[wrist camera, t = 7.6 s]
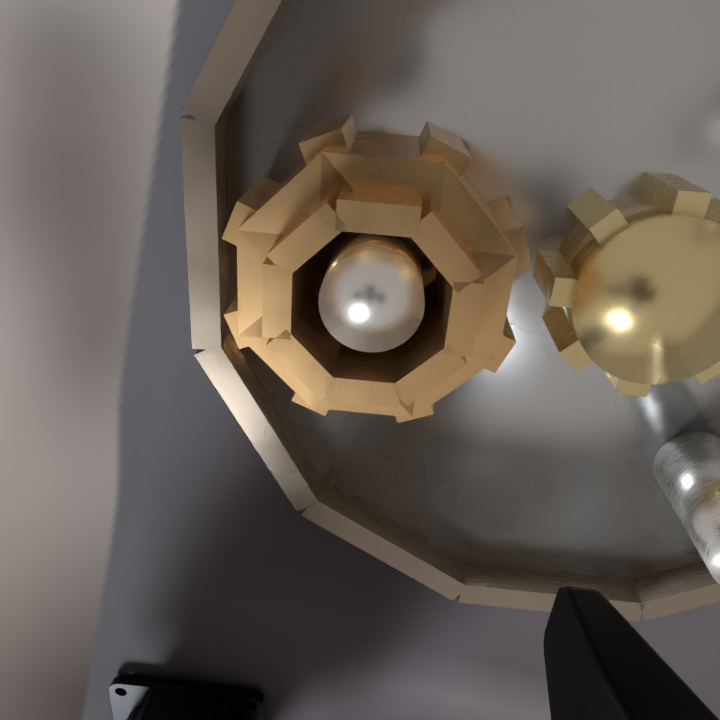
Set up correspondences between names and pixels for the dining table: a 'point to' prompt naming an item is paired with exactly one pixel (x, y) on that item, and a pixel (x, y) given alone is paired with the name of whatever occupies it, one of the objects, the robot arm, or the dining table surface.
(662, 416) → the carrier
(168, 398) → the dining table surface
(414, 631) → the dining table surface
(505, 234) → the planet gear
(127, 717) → the robot arm
